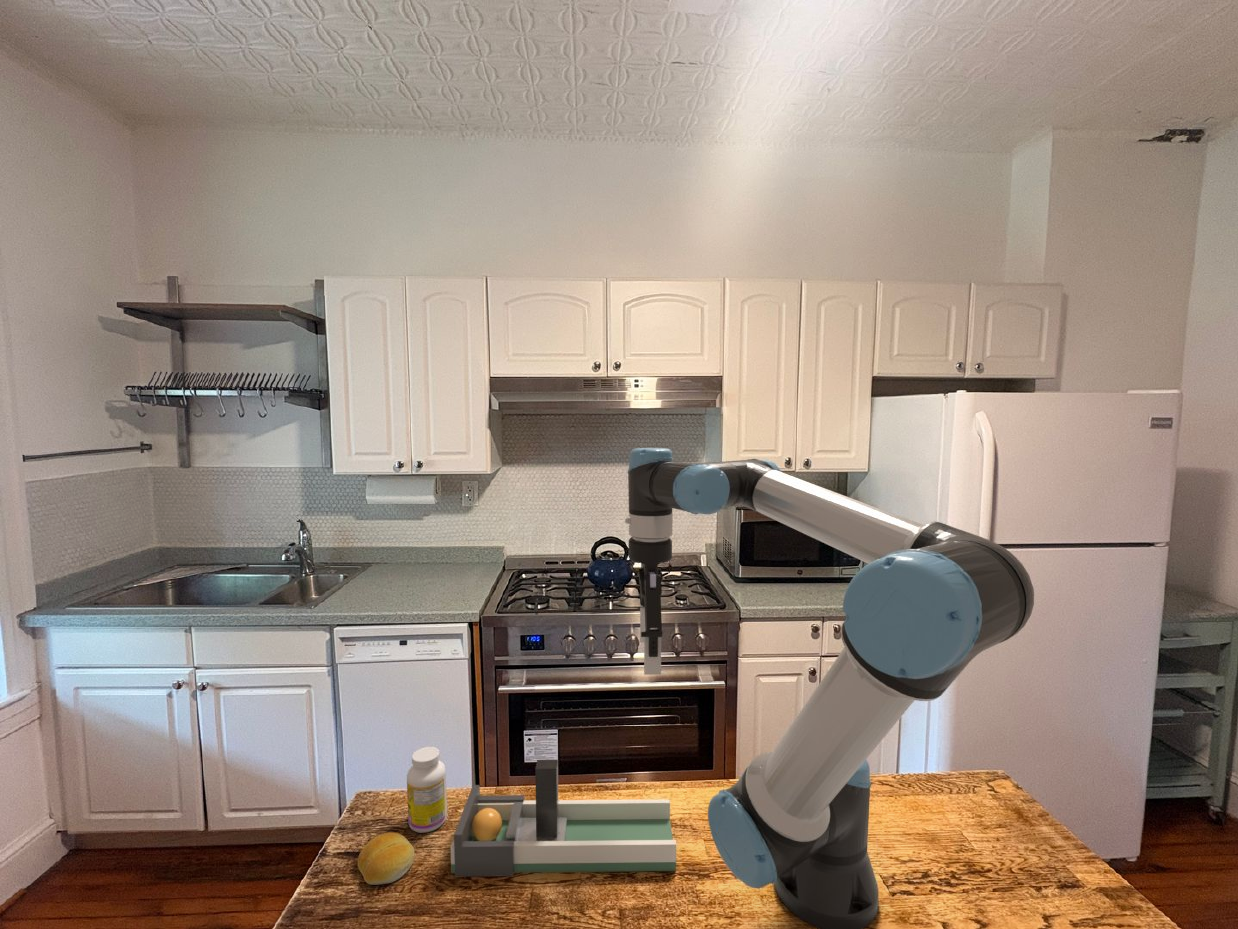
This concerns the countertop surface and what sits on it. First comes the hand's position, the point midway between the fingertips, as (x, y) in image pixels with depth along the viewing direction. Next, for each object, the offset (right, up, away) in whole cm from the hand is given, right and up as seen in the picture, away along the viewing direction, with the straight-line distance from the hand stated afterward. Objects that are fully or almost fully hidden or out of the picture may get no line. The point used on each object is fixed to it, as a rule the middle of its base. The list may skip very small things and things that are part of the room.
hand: (649, 656), depth 102 cm
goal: (-26, -31, -4) cm, 41 cm away
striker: (-19, -29, -4) cm, 35 cm away
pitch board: (-14, -31, -3) cm, 34 cm away
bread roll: (-43, -32, -7) cm, 54 cm away
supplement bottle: (-40, -31, +3) cm, 50 cm away
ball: (-28, -27, -4) cm, 39 cm away
